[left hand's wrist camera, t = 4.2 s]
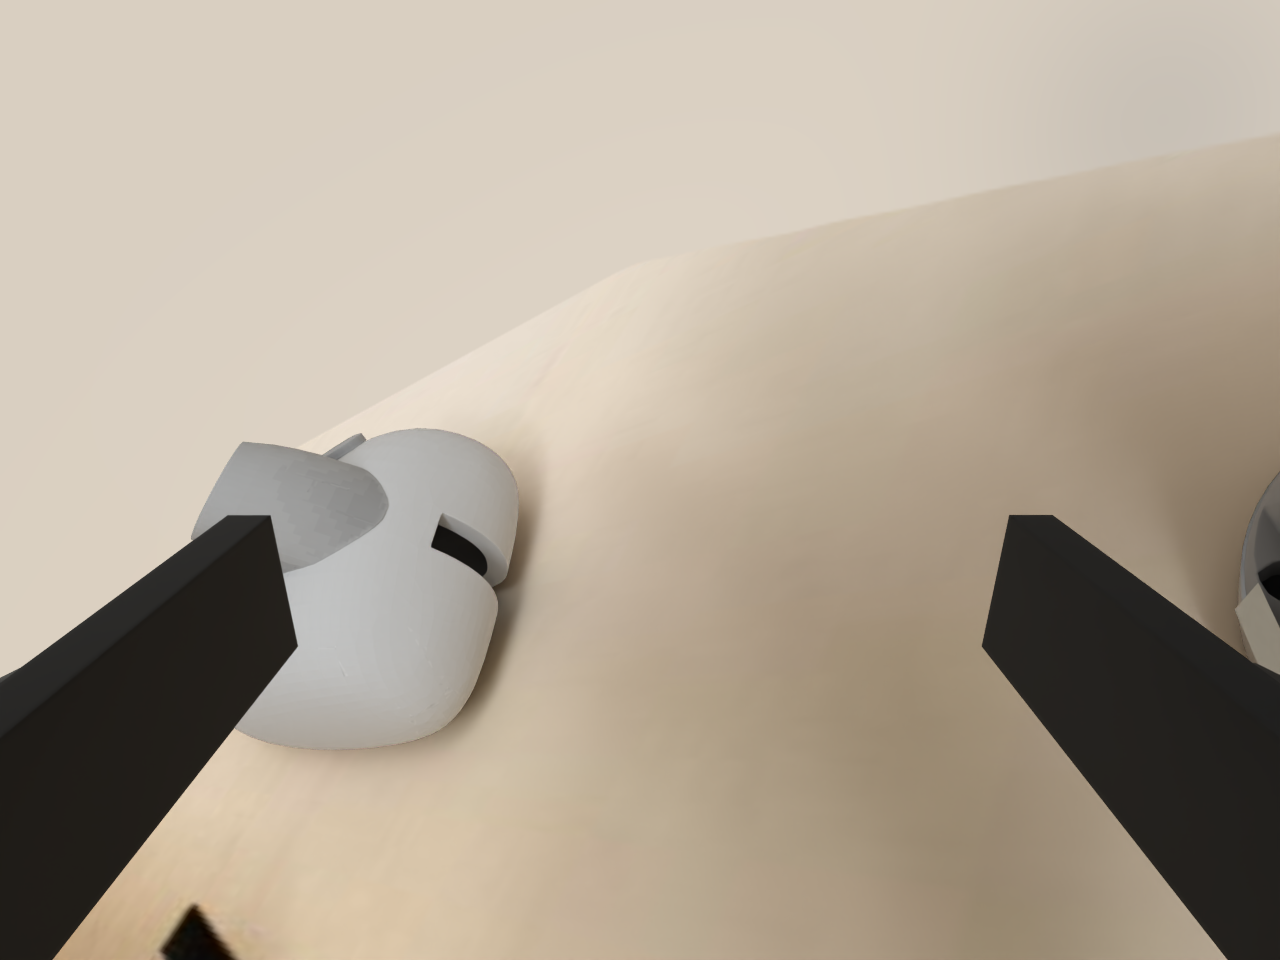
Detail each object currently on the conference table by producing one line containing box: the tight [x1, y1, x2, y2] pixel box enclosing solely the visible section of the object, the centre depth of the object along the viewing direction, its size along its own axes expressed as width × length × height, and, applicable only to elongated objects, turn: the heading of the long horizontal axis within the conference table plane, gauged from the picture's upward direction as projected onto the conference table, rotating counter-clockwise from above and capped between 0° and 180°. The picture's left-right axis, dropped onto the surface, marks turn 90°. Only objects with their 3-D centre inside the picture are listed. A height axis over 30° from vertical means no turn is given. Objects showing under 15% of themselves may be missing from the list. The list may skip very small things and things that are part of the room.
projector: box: [191, 428, 519, 750], centre depth 36 cm, size 22×23×15 cm
